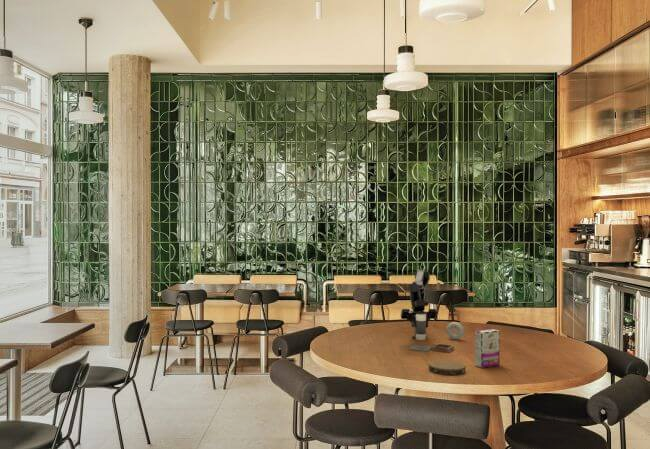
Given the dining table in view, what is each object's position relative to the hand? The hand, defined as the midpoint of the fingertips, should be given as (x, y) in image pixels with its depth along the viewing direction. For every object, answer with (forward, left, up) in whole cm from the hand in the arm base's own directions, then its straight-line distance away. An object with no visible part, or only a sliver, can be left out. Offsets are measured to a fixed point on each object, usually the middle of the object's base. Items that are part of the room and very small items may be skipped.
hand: (421, 327), depth 298 cm
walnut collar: (-5, +10, -12) cm, 16 cm away
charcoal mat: (-1, -1, -12) cm, 12 cm away
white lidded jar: (-1, -1, -7) cm, 7 cm away
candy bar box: (+16, +38, -12) cm, 43 cm away
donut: (-35, +7, -12) cm, 38 cm away
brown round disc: (+35, +25, -12) cm, 45 cm away
